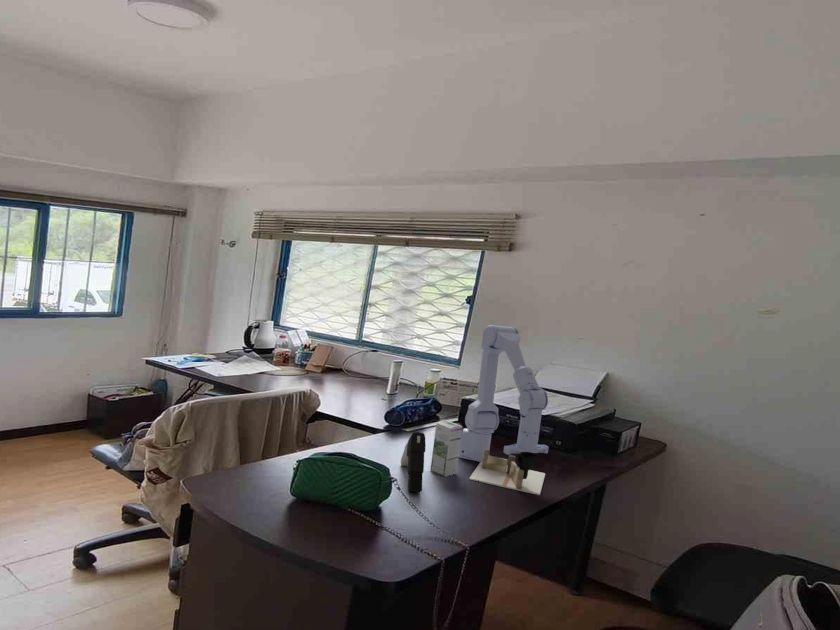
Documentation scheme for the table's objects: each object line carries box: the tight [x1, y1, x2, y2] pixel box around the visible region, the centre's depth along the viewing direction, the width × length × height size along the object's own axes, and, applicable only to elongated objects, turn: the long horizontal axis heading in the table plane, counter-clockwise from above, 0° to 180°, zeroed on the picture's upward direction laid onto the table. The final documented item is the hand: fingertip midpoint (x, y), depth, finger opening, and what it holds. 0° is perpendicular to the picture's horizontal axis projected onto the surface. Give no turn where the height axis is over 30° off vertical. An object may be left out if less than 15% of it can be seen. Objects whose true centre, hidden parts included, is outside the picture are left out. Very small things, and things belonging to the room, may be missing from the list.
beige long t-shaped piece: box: [509, 461, 524, 489], centre depth 166 cm, size 12×2×5 cm, turn 2°
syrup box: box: [430, 420, 463, 477], centre depth 167 cm, size 6×6×14 cm
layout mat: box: [469, 462, 546, 496], centre depth 172 cm, size 20×20×1 cm
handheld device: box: [400, 431, 426, 493], centre depth 159 cm, size 4×22×15 cm
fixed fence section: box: [482, 450, 517, 474], centre depth 174 cm, size 10×2×5 cm, turn 73°
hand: (522, 477), depth 165 cm, fingers closed, pressing on beige long t-shaped piece
